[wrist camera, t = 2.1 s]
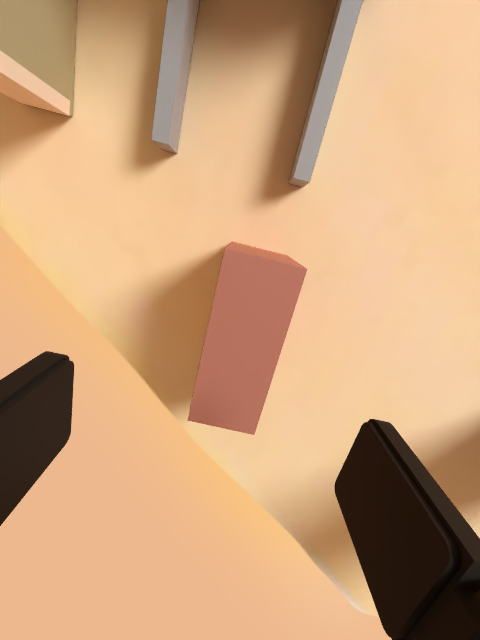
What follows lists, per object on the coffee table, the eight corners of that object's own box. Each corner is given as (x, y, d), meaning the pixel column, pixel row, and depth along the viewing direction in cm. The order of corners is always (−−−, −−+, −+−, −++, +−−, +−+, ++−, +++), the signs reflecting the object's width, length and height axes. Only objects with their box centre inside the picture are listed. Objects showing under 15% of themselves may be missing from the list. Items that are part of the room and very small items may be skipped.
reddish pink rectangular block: (286, 255, 20) (307, 269, 13) (252, 374, 23) (254, 434, 16) (232, 241, 19) (224, 248, 13) (204, 363, 23) (186, 420, 16)
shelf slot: (381, -35, 15) (493, -255, 8) (314, 190, 18) (352, 167, 11) (178, -98, 14) (117, -391, 7) (150, 146, 18) (90, 95, 11)
